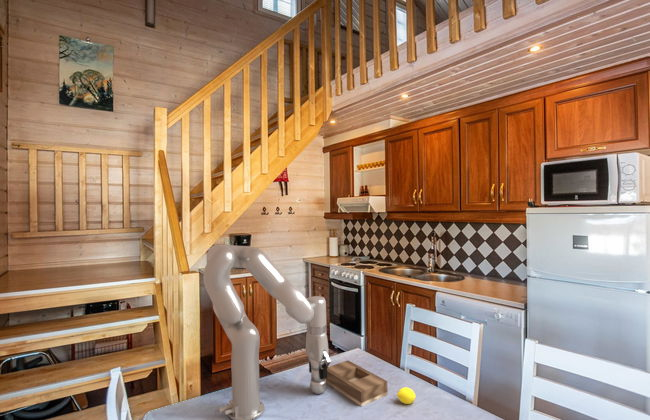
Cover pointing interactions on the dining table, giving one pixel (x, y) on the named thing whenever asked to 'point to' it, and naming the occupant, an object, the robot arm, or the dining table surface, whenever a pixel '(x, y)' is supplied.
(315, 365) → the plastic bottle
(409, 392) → the lemon
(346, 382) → the brown slotted block
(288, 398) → the dining table surface
